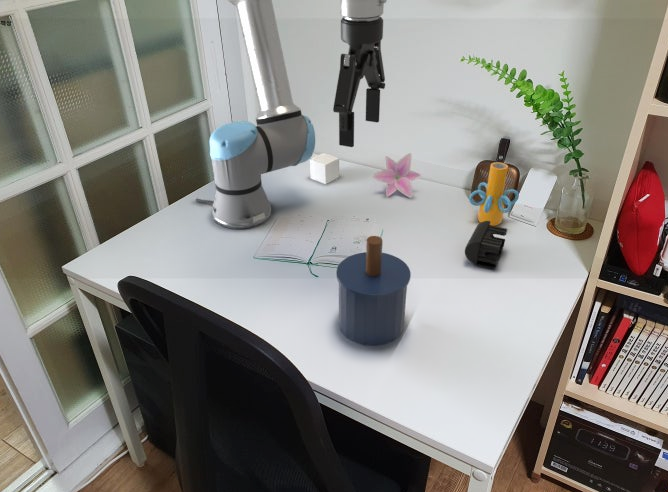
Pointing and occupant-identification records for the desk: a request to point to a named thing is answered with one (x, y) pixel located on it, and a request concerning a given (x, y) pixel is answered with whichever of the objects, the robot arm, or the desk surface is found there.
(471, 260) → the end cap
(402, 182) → the lily
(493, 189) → the yellow tubular piece
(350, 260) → the lid
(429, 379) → the desk surface
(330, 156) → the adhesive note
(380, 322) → the canister
